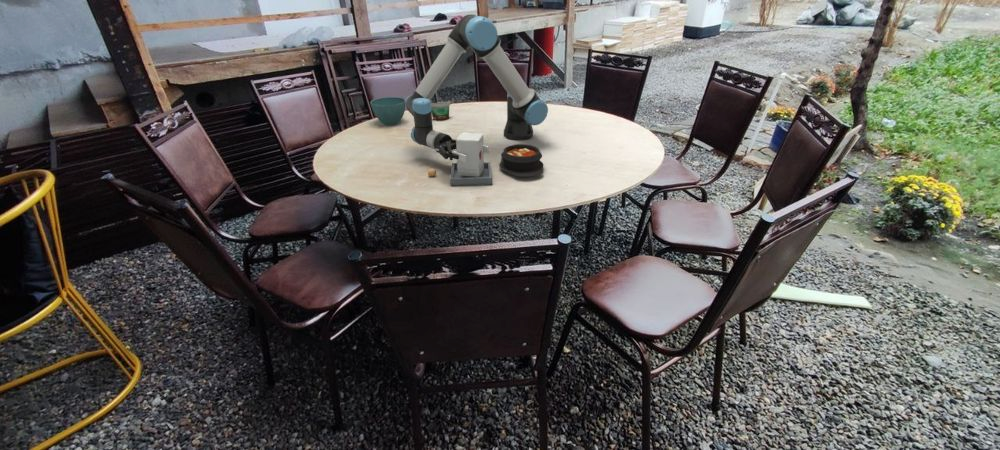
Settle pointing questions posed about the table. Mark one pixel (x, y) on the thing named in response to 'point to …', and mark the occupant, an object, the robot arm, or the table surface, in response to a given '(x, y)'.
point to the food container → (440, 110)
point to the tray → (460, 180)
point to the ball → (431, 172)
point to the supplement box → (470, 154)
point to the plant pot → (389, 110)
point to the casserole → (522, 160)
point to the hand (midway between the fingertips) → (477, 154)
